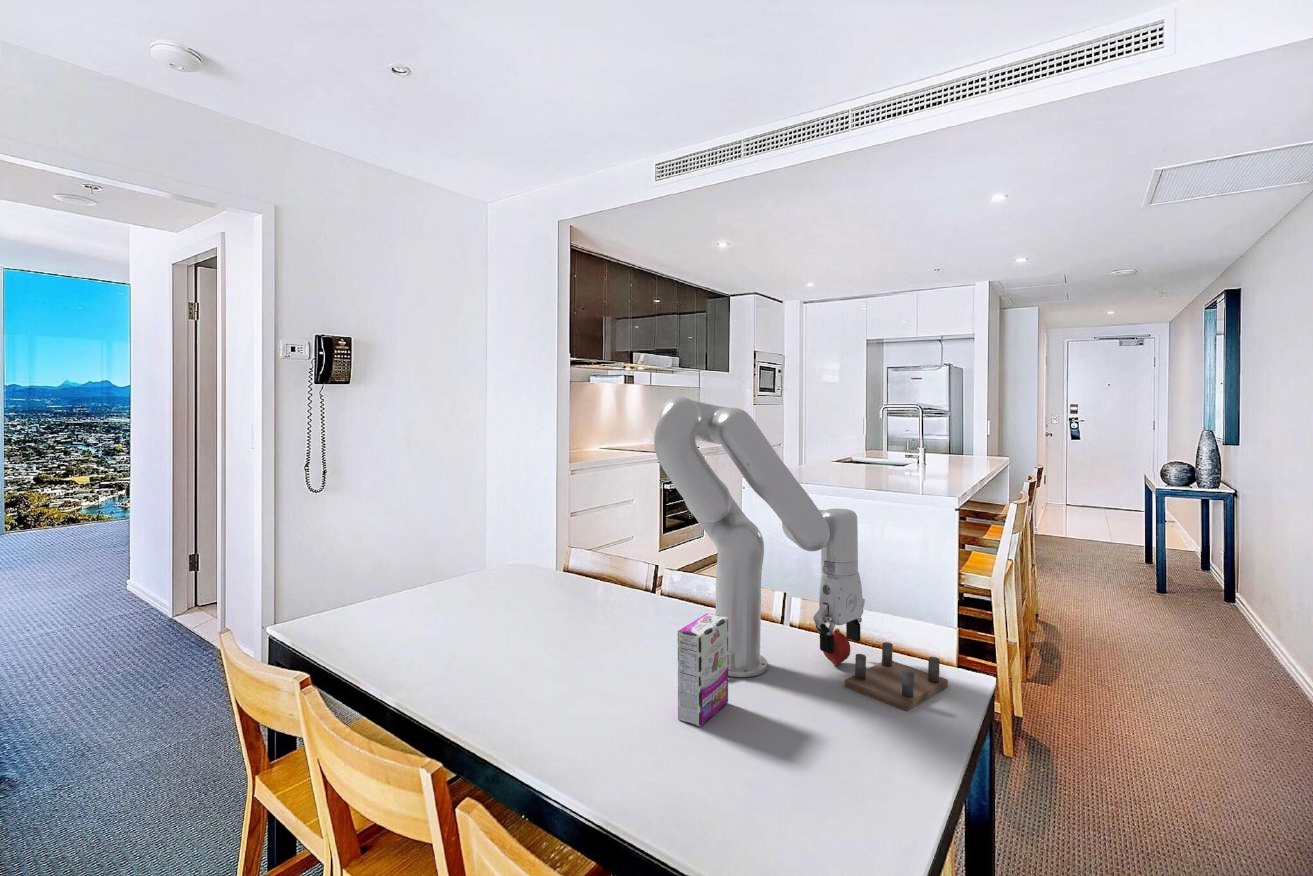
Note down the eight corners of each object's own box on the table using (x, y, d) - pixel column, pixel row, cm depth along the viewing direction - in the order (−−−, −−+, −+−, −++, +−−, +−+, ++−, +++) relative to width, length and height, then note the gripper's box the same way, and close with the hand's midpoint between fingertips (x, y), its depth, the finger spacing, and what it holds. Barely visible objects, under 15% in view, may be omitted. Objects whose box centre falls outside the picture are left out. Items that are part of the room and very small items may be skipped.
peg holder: (906, 711, 118) (907, 679, 117) (844, 686, 127) (845, 657, 127) (947, 686, 128) (948, 657, 128) (887, 666, 138) (888, 638, 137)
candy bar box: (705, 696, 123) (706, 612, 122) (728, 703, 120) (730, 616, 119) (675, 720, 113) (676, 629, 112) (700, 728, 111) (701, 635, 110)
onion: (818, 659, 141) (819, 623, 141) (843, 659, 141) (844, 623, 141) (827, 670, 135) (828, 633, 135) (854, 670, 136) (855, 632, 135)
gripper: (830, 578, 129) (831, 662, 130) (877, 562, 140) (878, 640, 141) (800, 571, 134) (801, 651, 135) (847, 557, 146) (848, 631, 147)
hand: (840, 645), depth 138 cm, fingers open, 9 cm apart
